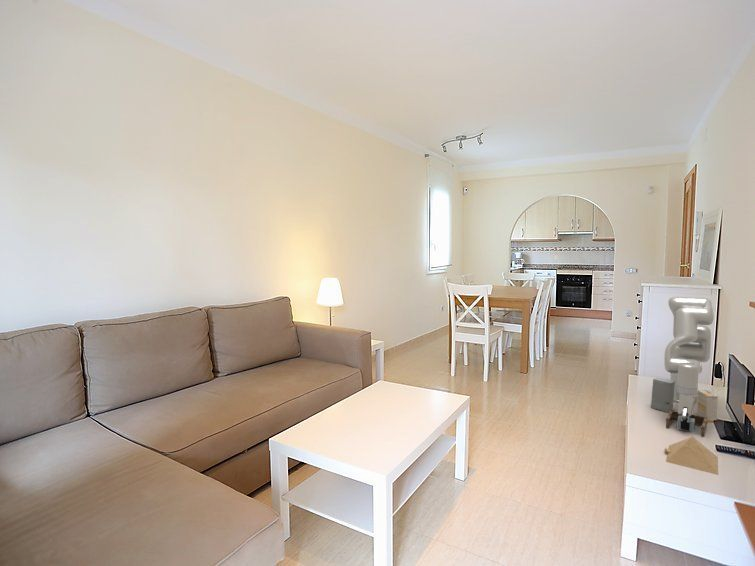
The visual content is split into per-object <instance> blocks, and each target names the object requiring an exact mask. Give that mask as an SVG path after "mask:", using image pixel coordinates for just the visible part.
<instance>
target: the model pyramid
mask: <svg viewBox="0 0 755 566" xmlns="http://www.w3.org/2000/svg"><path fill="white" fill-rule="evenodd" d="M664 455H666V458H665V462H666V463H670V464H674V465H678V466H681V467H685V468H689V469H692V470H696V471H701V472H705V473H708V474H709V473H710V474H712V475H716V476H719V457H718V455H717V454H715V453H714V452H713V451H711V450H710V449H709V448H707V447H706V446H705V445H704V444H703V443H702V442H700V441H699V440H698V439H696V437H694V436H690V437H688V438H685V439H683V440H680V441H676V442H674V443H671V444H669V445H668V448H667V447H664Z"/></svg>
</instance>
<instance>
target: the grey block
mask: <svg viewBox="0 0 755 566" xmlns="http://www.w3.org/2000/svg"><path fill="white" fill-rule="evenodd" d="M681 417H682V416H680V415H679V417H678V421H676V422H677V425H676V426H677V427H676V428H677V429H678V430H682V429H681ZM686 418H688V417H686ZM689 422H690V427H689V431H687V430H685V431H686V432H690V433H694V432H695V428H696V425H695V419H694V418H689ZM682 431H683V430H682Z"/></svg>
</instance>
